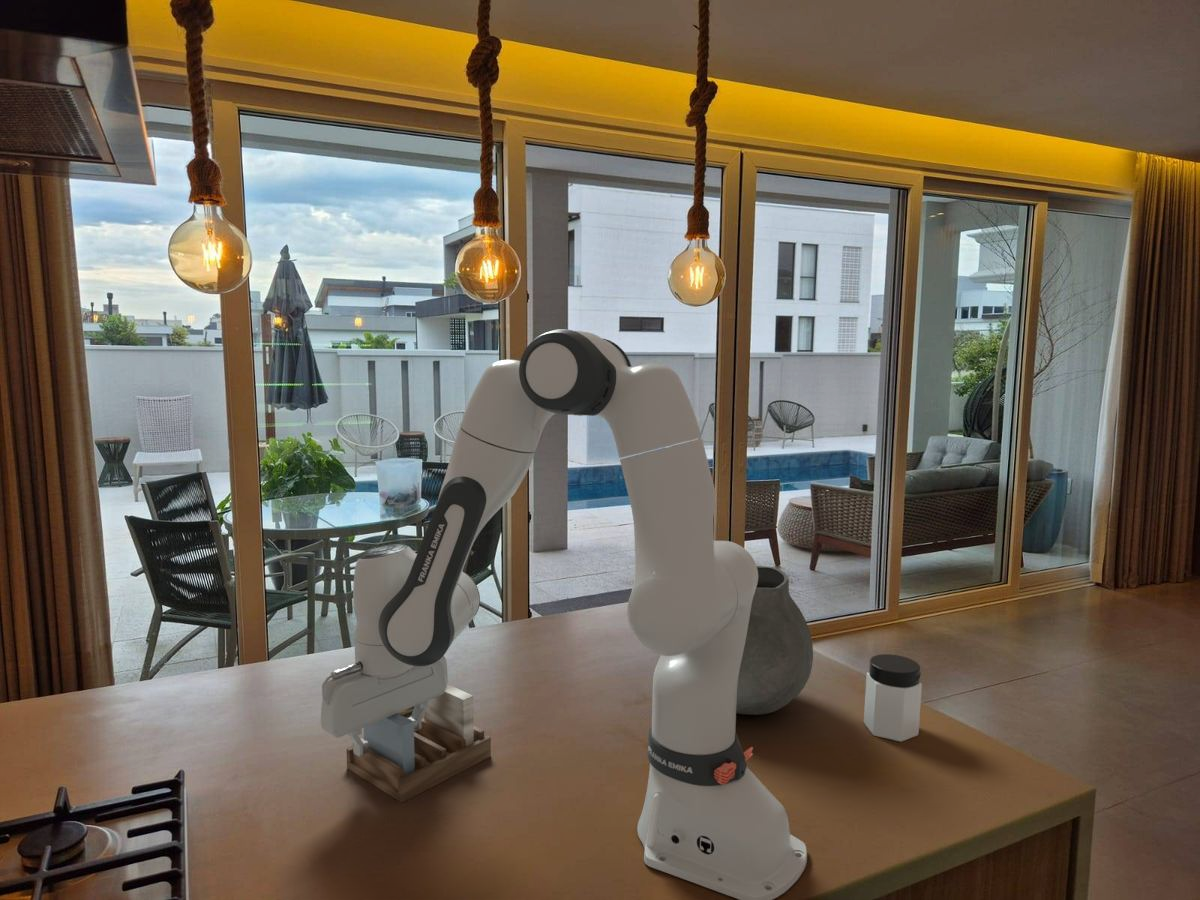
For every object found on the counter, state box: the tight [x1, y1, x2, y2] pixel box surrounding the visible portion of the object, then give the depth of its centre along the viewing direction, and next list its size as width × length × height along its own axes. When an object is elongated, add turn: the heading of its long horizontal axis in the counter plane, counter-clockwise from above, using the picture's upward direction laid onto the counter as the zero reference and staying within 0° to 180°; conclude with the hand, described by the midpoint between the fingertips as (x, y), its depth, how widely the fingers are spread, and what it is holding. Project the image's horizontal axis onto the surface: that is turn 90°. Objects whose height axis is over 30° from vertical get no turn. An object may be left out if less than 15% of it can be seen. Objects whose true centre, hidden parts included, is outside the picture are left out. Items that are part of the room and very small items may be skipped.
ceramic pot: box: [736, 565, 814, 716], centre depth 142 cm, size 24×24×25 cm
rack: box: [346, 684, 492, 803], centre depth 122 cm, size 14×17×10 cm
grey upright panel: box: [363, 713, 415, 776], centre depth 118 cm, size 10×2×9 cm, turn 50°
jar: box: [863, 653, 923, 743], centre depth 135 cm, size 9×8×12 cm
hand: (388, 741), depth 118 cm, fingers open, 8 cm apart
